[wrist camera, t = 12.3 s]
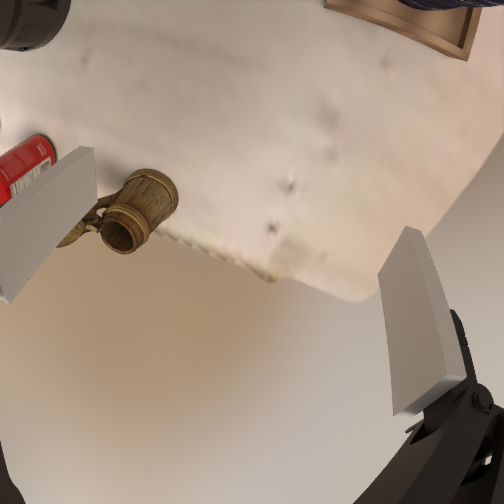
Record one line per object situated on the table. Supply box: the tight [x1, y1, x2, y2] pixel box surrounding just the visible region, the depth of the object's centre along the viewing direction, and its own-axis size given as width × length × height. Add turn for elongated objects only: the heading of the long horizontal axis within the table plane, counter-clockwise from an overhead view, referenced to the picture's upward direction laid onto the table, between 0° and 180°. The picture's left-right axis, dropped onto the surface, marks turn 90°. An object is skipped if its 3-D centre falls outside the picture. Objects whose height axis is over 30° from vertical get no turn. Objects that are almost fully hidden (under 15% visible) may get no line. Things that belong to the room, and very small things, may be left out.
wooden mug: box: [56, 169, 178, 254], centre depth 40 cm, size 9×14×18 cm, turn 61°
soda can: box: [0, 135, 55, 206], centre depth 39 cm, size 8×8×15 cm
